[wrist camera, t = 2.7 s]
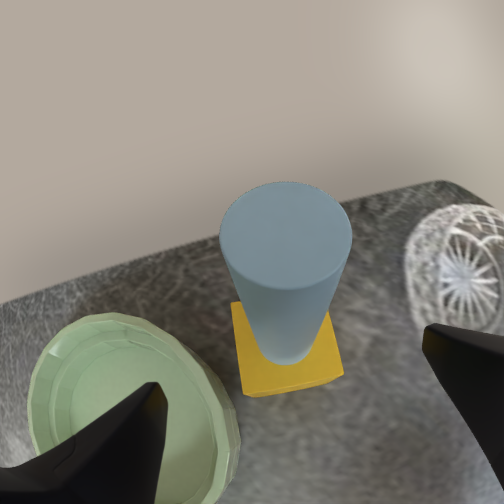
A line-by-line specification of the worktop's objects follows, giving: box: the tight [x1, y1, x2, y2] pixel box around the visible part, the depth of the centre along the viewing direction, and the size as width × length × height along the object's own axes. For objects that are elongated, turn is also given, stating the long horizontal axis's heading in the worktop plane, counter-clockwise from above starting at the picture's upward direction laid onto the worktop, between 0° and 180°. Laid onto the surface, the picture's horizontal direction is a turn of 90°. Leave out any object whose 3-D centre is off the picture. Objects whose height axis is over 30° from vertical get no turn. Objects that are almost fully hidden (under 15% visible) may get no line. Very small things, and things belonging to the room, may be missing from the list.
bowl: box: [27, 312, 241, 504], centre depth 13 cm, size 15×15×4 cm
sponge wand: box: [219, 182, 352, 398], centre depth 11 cm, size 5×5×14 cm
